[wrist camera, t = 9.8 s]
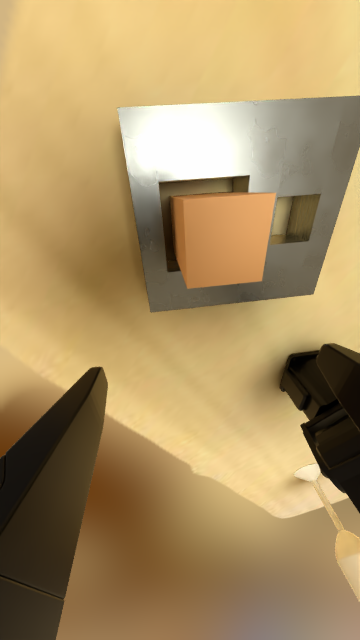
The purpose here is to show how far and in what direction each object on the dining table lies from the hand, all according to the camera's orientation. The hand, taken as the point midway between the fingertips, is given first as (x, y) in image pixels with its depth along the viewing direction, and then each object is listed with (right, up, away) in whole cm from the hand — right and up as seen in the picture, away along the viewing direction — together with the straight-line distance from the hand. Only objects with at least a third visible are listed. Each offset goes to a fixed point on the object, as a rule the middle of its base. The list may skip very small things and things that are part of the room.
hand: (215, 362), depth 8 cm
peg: (0, +9, +8) cm, 12 cm away
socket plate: (+2, +10, +8) cm, 13 cm away
